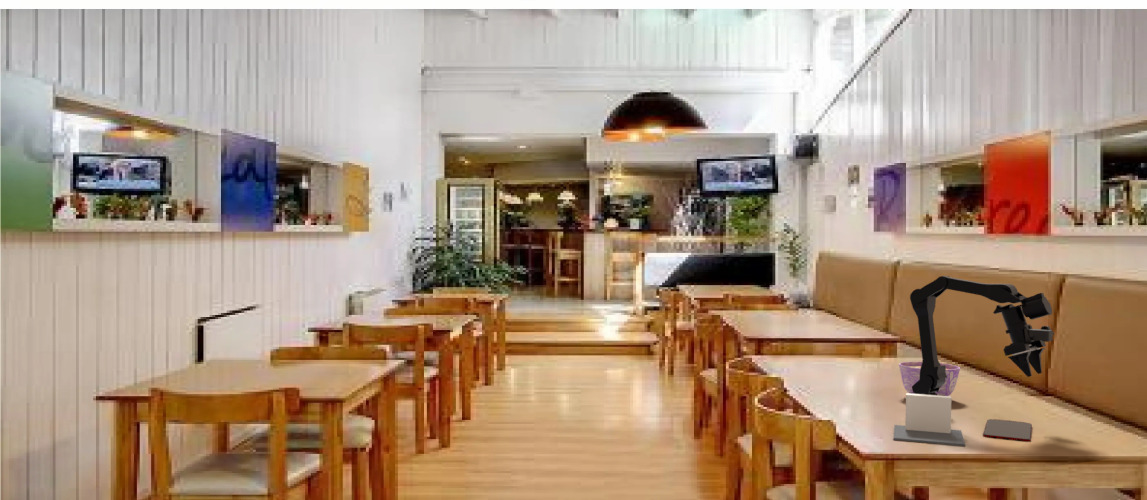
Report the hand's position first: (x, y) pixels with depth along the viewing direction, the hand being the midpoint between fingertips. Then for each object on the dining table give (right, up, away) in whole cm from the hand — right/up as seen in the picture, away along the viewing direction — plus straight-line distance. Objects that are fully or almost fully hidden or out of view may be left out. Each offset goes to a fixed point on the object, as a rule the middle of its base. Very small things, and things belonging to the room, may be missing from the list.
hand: (1034, 375), depth 267 cm
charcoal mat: (-37, -15, -14) cm, 42 cm away
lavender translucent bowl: (-13, -15, +47) cm, 51 cm away
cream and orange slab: (-35, -15, -9) cm, 39 cm away
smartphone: (-11, -16, -5) cm, 20 cm away
